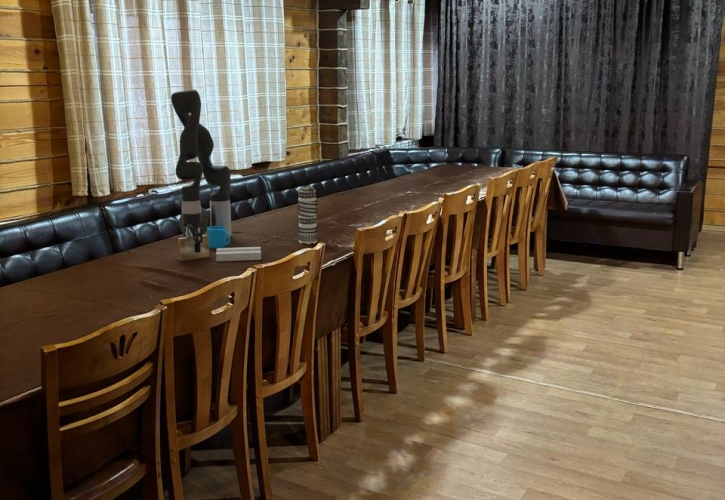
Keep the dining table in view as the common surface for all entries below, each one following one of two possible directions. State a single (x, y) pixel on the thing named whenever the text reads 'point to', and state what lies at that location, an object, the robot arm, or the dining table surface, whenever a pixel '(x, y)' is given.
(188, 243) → the picture frame
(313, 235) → the decorative candle
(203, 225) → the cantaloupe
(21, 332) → the dining table surface
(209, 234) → the mug
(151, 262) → the dining table surface
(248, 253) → the notched stand
